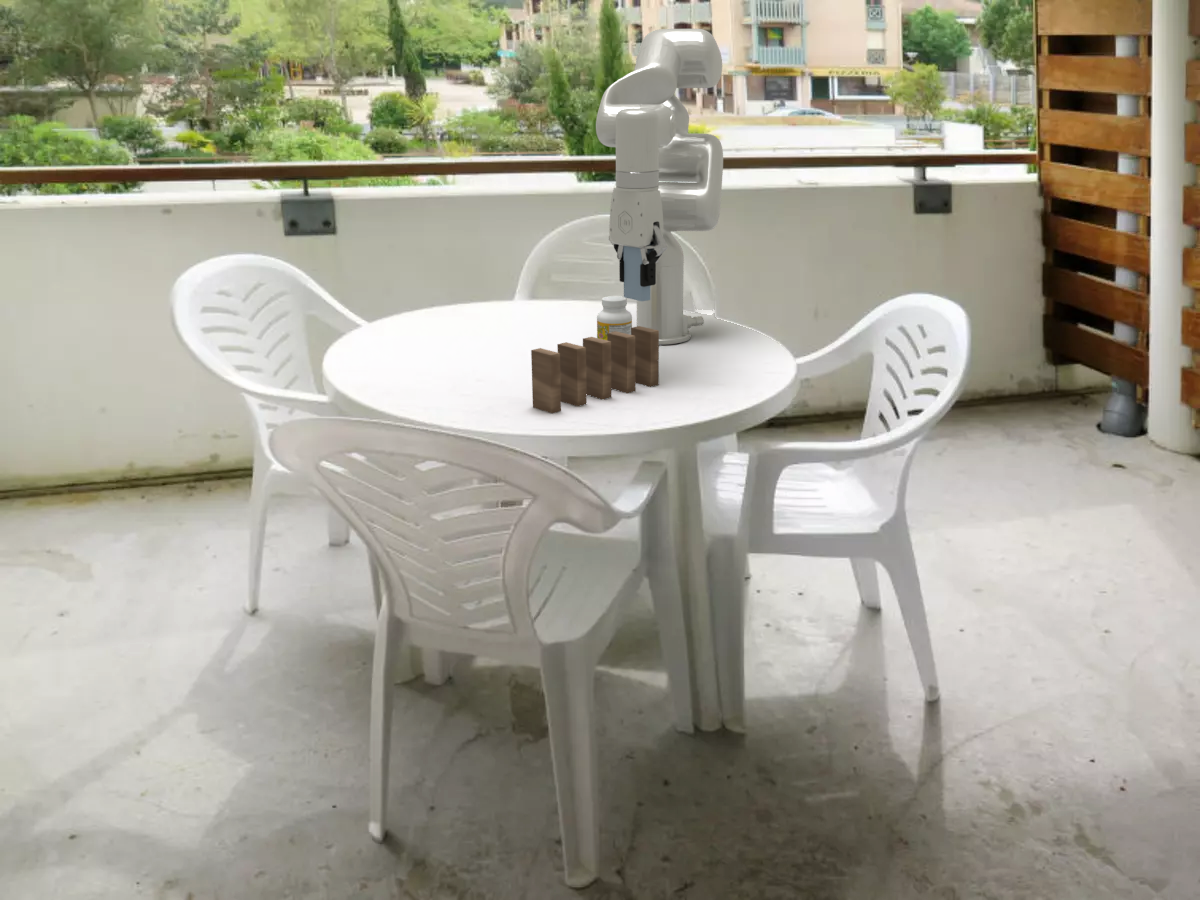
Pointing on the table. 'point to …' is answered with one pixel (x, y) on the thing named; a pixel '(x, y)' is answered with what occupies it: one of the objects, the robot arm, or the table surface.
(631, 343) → the domino
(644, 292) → the domino
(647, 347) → the domino
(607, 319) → the supplement bottle
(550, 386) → the domino
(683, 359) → the table surface
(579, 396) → the domino
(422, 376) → the table surface
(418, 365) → the table surface
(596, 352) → the domino
